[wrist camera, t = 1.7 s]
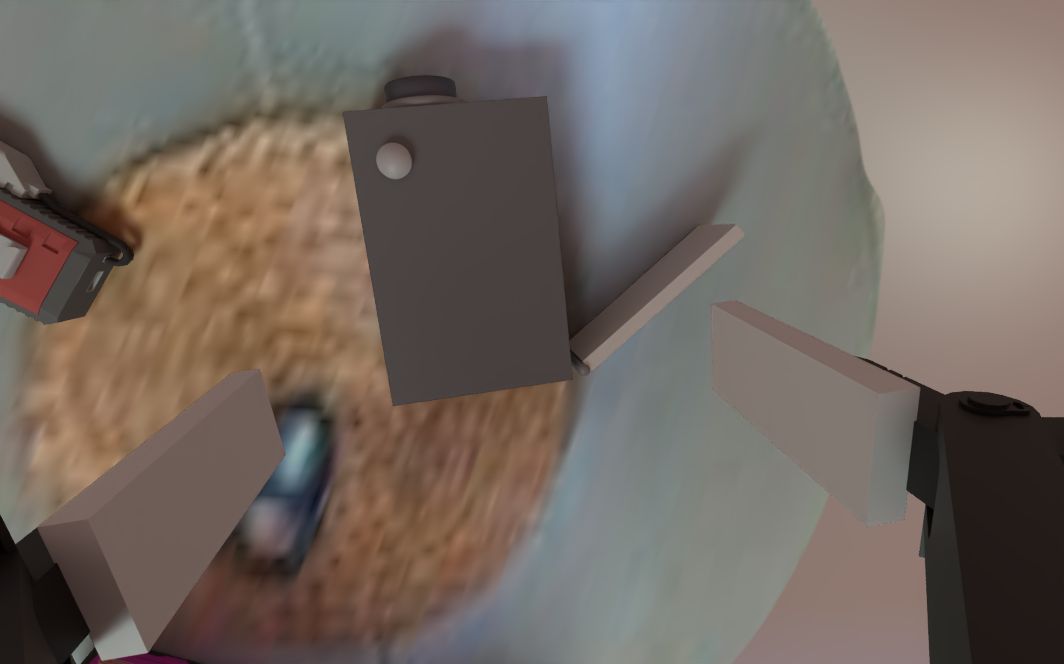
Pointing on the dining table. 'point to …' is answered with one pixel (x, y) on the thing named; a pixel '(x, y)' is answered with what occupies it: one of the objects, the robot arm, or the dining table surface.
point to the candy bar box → (136, 659)
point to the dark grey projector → (461, 240)
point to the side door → (650, 294)
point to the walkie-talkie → (48, 247)
